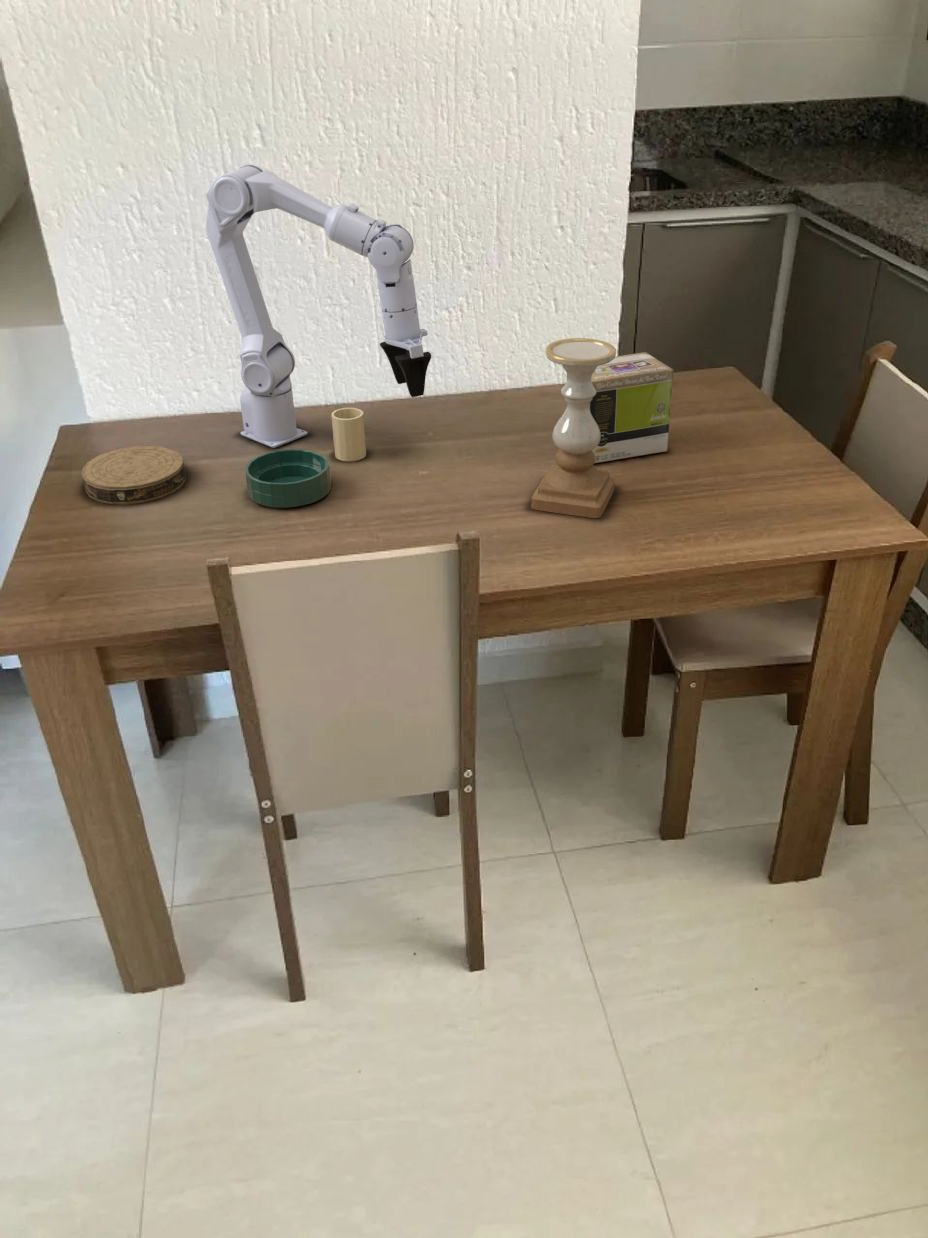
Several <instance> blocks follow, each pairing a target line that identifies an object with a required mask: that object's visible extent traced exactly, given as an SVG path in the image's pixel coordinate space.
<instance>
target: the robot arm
mask: <svg viewBox="0 0 928 1238" xmlns="http://www.w3.org/2000/svg"><path fill="white" fill-rule="evenodd" d="M205 196H206V197H205V198H206V199H207V202H208V204H207V205H208V206H207V215H206V221H205V222H206V224H205V230H206V236H207V238H208V241H209V244H210V247H211V250H212V253H213V256H214V259H215V262H216V264H217V267H218V270H219V274H220V276H221V280H222V283H223V285H224V288H225V291H226V295H227V297H228V300H229V303H230V306H231V309H232V312H233V315H234V317H235V320H236V323H237V326H238V329H239V333H240V336H241V343H240V348H239V354H238V355H239V359H240V362H241V370H240V376H241V381H242V383H243V384H244V387H243V389H242V390H241V393H240V399H239V403H240V411H241V417H242V426H243V430H242V431H240V436H243V437H245V438H247V439H250V440H252V441H255V442H258V443H259V444H262V445H265V446H267V447H270V448H272V449H275V448H278V447H280V446H283V445H286V444H288V443H291V442H293V441H296V440H299V439H300V438H301V439H302V438H303V437H305V436H307V435H308V431H307V430H304V429H301V428H298V427H297V420H296V411H295V401H294V392H293V384H292V381H291V374H292V373H293V372H294V370H295V368H296V359H295V355H294V353H293V352H292V350H291V349H290V348H289V347H288V345H287V344H286V342H285V339H284V337H283V334H281V333H280V332H279V331H278V330H277V329H275V328H274V327H273V324H272V321H271V318H270V315H269V311H268V308H267V305H266V303H265V299H264V296H263V293H262V290H261V286H260V284H259V281H258V278H257V274H256V271H255V269H254V265H253V261H252V258H251V256H250V253H249V250H248V246H247V244H246V240H245V237H244V231H245V229H246V228H247V225H248V224H249V222H250V220H251V219H252V216H253V215H254V214H255V213H259V212H265V211H270V210H275V209H278V210H280V211H283V212H284V213H287V214H290V215H292V216H294V217H296V218H299V219H301V220H303V221H305V222H308V223H311V224H313V225H316V226H318V227H320V228H322V229H324V231H325V233H326V235H327V237H328V239H329V240H330V241H331V242H333V243H335V244H337V245H340V246H342V247H343V248H345V249H347V250H350V251H352V252H354V253H356V254H358V255H360V256H363V257H364V258H368V261H369V263H370V265H371V266H372V267H373V268H374V269H375V273H376V278H377V280H376V281H377V288H378V295H379V301H380V306H381V307H380V309H381V315H382V323H383V330H384V337H383V338H384V341H382V342H380V343H379V346H380V348H381V349H382V350H383V352H384V354H385V355H386V357H387V360H388V363H389V364H390V368H391V371H392V374H393V375H394V379H395V381H396V383H397V384H398V385H402V384H406V388H407V391H408V393H409V395H410V397H411V398H416V397H421V396H424V394H425V387H426V376H427V371H428V367H429V364H430V362H431V360H432V353H431V352H430V351H424V348H423V344H422V340H423V337H426V336H428V330H427V329H426V328H421V327H420V320H419V312H418V304H417V303H418V302H417V295H416V294H417V293H416V289H415V288H416V287H415V280H414V279H415V278H414V274H413V267H412V260H411V256H412V254H413V252H414V248H415V245H414V239H413V236H412V235H411V233H410V231H408V230H407V229H406V228H405V227H403V226H402V225H401V224H399V223H390V224H387V222H386V221H385V220H384V219H379V220H378V219H376V218H373V217H371V216H369V215H367V214H365V213H363V212H361V211H359V209H360V208H359V206H358V205H356V204H354V203H350V204H349V205H346V204H344V203H343V204H339V205H338V206H336V207H333V206H331V205H330V204H327V203H326V202H324V201H322V200H320V199H318V198H316V197H315V196H313V195H311V194H309V193H308V192H306V191H304V190H302V189H300V188H298V187H296V186H295V185H293V184H291V183H290V182H287V181H286V180H284V179H283V178H281V177H280V176H279V175H277V174H276V173H274V172H273V171H270V170H267V169H265V170H264V169H263V168H261V167H260V166H259V165H255V164H251V163H250V164H248V163H247V164H244V165H242V166H240V167H239V168H237V169H234V170H233V171H230V172H228V173H224V174H221V175H219V176H218V177H216V178H215V180H214V181H213V182H212V184H211V186H210V187H209V189H208V190H207V192H206V193H205Z"/></svg>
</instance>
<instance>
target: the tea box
mask: <svg viewBox="0 0 928 1238" xmlns="http://www.w3.org/2000/svg"><path fill="white" fill-rule="evenodd" d="M591 381H592V384H593V386H594V388H595V389H596V395H595V396H594V397H593V399H592V401H591V402H590V404H589V409H590V412H591V414H592V416H593V418H594V419H595V421H596V423H597V424H598V427H599V429H600V433H601V439H600V442H599V444H598V445H597V446H596V447H595V448H594V449H593V450H592V451H593V453H594V454H595V463H594V464H598V463H604V462H609V461H610V462H611V461H615V460H621V459H628V458H633V457H639V456H645V455H646V456H647V455H651V454H652V455H653V454H657V453H665V452H668V447H669V437H670V432H669V431H670V423H671V410H672V409H671V407H672V398H673V397H672V394H673V385H674V384H673V383H674V382H673V381H674V368H672V367H670V366H668V365H667V364H665V363H663V362H662V361H660V360H659V359H657V358H656V357H654V356H653V355H651V354H649V353H648V352H646V351H644V352H636V353H629V354H624V355H616V356H615V358H614V359H613V360H612V361H611V362H609V363H607V364H603V365H599V366H598V367H597V368H596V370H595V371H594V372H593V374H592V377H591ZM566 407H567V403H566V402H565V408H566Z"/></svg>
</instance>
